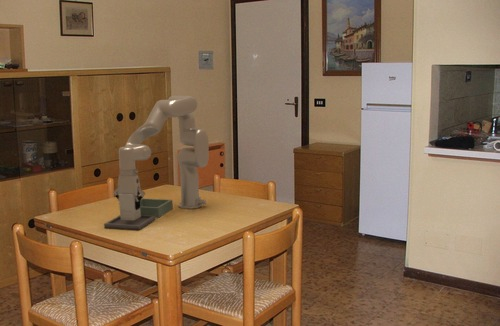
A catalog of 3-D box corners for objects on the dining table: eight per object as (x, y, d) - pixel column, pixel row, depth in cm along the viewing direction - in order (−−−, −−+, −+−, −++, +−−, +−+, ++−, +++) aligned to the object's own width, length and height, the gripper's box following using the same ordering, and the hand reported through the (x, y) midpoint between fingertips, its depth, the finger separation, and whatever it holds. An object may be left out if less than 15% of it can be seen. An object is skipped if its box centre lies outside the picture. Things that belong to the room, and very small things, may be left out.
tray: (155, 220, 283) (155, 215, 283) (139, 230, 266) (139, 226, 265) (122, 218, 288) (122, 213, 287) (104, 228, 271) (104, 223, 270)
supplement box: (141, 216, 279) (139, 191, 276) (133, 220, 272) (131, 195, 270) (127, 215, 281) (126, 190, 279) (119, 219, 274) (118, 194, 272)
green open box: (172, 209, 304) (172, 199, 303) (158, 217, 287) (158, 208, 286) (142, 207, 308) (142, 198, 307) (127, 215, 292) (126, 206, 291)
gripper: (148, 171, 274) (150, 207, 277) (115, 170, 278) (117, 205, 281) (141, 174, 267) (143, 211, 270) (107, 173, 271) (109, 209, 274)
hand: (130, 208), depth 276 cm, fingers closed on supplement box, 7 cm apart
